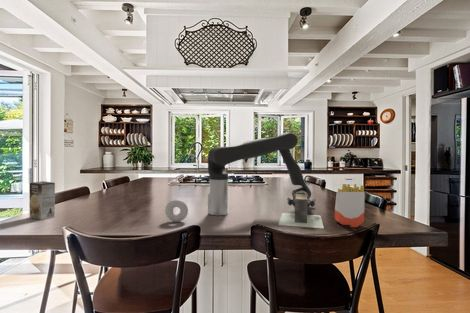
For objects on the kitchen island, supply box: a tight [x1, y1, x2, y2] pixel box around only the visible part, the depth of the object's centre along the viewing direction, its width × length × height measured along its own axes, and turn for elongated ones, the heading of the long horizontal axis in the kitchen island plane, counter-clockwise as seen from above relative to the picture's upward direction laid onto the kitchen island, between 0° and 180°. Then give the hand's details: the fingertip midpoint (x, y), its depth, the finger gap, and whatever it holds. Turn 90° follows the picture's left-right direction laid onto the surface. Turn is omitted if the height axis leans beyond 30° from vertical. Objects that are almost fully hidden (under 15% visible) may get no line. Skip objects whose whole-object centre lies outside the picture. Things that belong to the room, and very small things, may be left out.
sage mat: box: [278, 212, 325, 229], centre depth 122 cm, size 18×22×1 cm
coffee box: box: [29, 181, 56, 221], centre depth 125 cm, size 9×6×16 cm
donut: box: [164, 198, 189, 223], centre depth 120 cm, size 10×4×10 cm, turn 89°
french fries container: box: [334, 183, 366, 228], centre depth 117 cm, size 5×11×18 cm, turn 91°
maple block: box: [294, 194, 308, 223], centre depth 124 cm, size 5×14×10 cm, turn 166°
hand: (301, 205), depth 125 cm, fingers closed on maple block, 5 cm apart
